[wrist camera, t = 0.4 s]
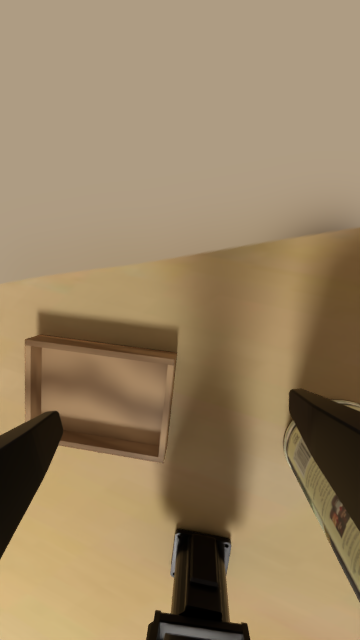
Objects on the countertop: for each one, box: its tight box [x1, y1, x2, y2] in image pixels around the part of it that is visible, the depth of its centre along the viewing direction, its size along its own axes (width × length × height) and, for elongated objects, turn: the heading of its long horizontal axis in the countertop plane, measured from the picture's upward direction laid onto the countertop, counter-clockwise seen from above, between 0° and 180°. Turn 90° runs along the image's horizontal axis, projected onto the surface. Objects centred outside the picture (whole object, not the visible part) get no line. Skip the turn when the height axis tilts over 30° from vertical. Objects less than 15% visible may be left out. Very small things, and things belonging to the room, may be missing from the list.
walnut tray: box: [25, 335, 177, 463], centre depth 23 cm, size 11×15×2 cm
